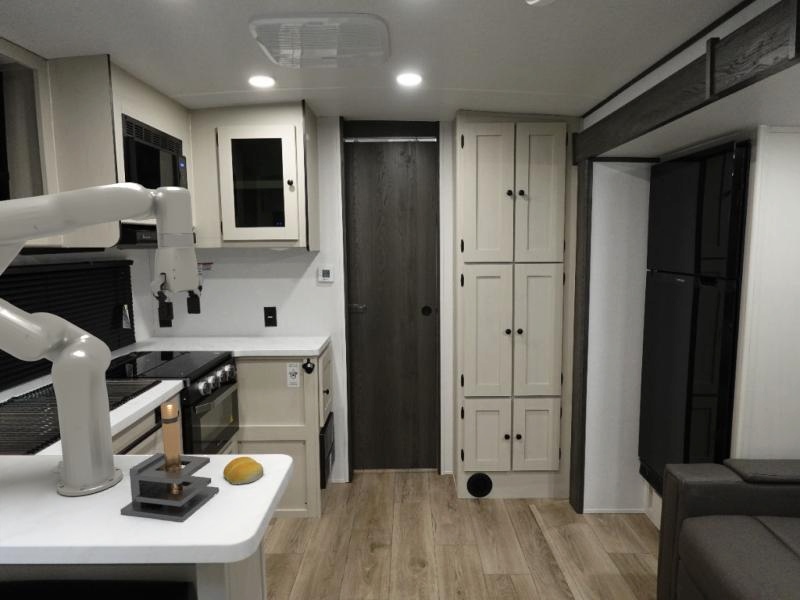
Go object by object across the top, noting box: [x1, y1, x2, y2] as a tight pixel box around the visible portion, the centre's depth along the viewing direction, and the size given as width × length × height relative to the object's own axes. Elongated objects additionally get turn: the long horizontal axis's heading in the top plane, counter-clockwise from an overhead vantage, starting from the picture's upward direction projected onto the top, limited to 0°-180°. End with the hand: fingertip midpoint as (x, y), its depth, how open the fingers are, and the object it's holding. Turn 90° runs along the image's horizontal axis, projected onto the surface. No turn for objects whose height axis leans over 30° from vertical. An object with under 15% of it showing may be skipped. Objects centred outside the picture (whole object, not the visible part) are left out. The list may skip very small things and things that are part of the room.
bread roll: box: [223, 456, 264, 485], centre depth 114 cm, size 8×9×4 cm
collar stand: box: [120, 452, 220, 523], centre depth 103 cm, size 14×12×8 cm
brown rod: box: [160, 401, 183, 494], centre depth 102 cm, size 3×3×20 cm
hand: (181, 316), depth 116 cm, fingers open, 9 cm apart
